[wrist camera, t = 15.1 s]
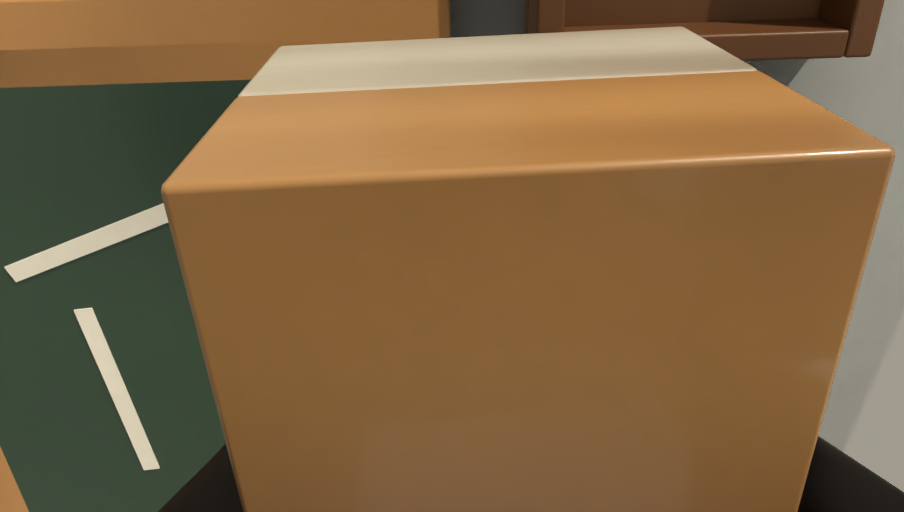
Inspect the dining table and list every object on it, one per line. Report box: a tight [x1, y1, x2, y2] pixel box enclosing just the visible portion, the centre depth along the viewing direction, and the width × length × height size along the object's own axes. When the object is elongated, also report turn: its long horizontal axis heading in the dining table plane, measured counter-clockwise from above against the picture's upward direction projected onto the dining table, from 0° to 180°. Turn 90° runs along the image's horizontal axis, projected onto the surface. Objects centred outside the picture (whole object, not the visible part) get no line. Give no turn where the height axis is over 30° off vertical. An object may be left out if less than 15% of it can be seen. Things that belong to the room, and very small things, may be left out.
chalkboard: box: [0, 0, 451, 512], centre depth 21 cm, size 16×20×1 cm
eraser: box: [161, 26, 895, 512], centre depth 8 cm, size 9×4×4 cm, turn 2°
